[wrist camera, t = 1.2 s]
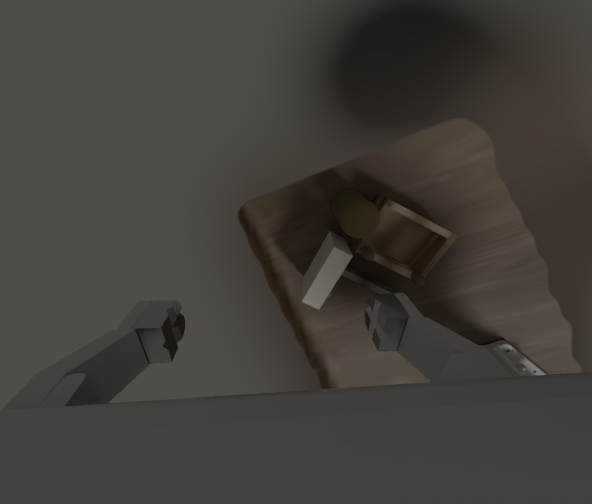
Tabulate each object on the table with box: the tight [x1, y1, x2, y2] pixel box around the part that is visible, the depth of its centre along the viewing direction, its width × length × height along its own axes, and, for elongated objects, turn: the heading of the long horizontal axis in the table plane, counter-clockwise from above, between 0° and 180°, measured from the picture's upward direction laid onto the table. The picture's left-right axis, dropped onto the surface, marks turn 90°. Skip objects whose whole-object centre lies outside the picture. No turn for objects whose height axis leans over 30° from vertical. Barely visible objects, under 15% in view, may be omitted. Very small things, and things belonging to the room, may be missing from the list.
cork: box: [331, 189, 380, 238], centre depth 35 cm, size 6×6×11 cm
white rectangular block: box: [302, 231, 353, 309], centre depth 40 cm, size 10×4×9 cm, turn 154°
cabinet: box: [341, 194, 458, 294], centre depth 39 cm, size 12×15×8 cm
